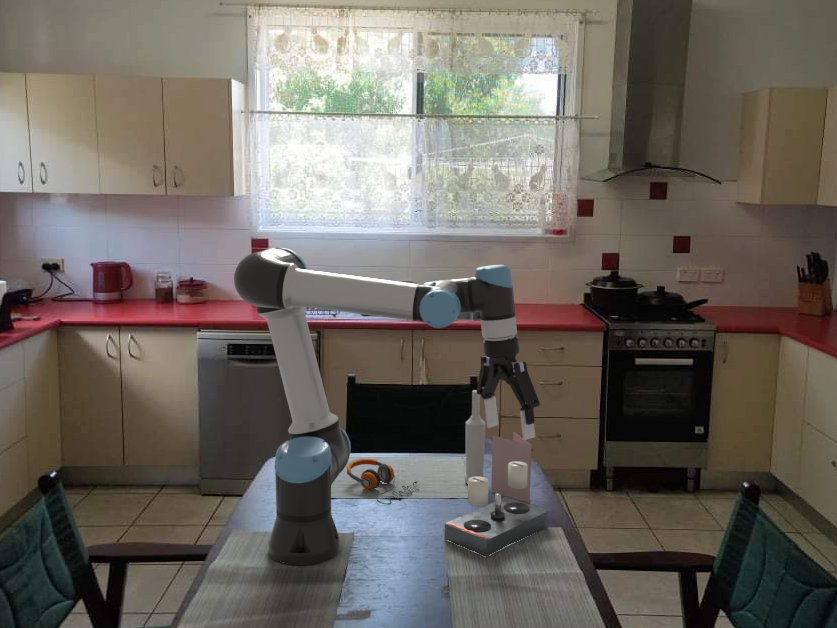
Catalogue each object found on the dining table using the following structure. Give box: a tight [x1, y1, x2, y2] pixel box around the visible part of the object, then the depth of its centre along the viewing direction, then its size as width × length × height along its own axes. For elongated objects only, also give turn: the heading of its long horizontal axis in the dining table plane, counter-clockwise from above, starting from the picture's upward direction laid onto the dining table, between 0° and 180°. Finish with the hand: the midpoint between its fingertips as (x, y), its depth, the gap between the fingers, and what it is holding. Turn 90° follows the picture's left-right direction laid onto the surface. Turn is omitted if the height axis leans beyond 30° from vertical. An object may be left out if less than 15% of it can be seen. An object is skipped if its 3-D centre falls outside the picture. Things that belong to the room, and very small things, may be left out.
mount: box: [444, 496, 549, 558], centre depth 183 cm, size 12×22×4 cm, turn 135°
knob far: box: [508, 461, 528, 489], centre depth 186 cm, size 4×4×5 cm
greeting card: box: [490, 431, 533, 504], centre depth 205 cm, size 11×7×15 cm, turn 16°
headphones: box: [346, 458, 420, 505], centre depth 210 cm, size 17×5×20 cm
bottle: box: [464, 389, 486, 485], centre depth 212 cm, size 5×5×25 cm
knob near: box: [467, 476, 489, 507], centre depth 177 cm, size 4×4×5 cm
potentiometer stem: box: [490, 493, 505, 520], centre depth 182 cm, size 3×3×5 cm
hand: (510, 432), depth 177 cm, fingers open, 13 cm apart
